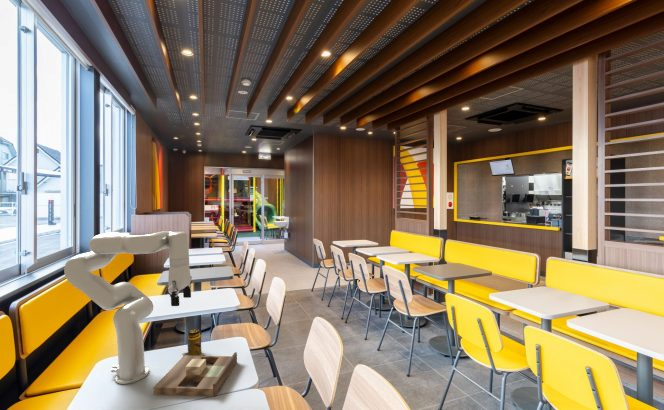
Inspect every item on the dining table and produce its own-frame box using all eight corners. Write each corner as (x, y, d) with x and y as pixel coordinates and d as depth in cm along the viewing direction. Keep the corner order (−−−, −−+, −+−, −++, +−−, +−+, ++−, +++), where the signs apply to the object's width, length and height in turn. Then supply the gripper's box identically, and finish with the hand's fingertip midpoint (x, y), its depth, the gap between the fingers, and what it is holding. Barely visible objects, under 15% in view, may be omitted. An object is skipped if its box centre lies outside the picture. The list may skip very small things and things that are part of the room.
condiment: (203, 355, 159) (202, 331, 158) (184, 361, 154) (183, 336, 153) (200, 349, 165) (199, 326, 164) (182, 354, 160) (180, 330, 160)
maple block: (185, 374, 138) (185, 366, 138) (192, 366, 144) (192, 358, 144) (199, 374, 138) (199, 366, 138) (206, 366, 144) (205, 359, 143)
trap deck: (153, 394, 130) (153, 382, 130) (184, 361, 154) (184, 351, 153) (215, 396, 128) (215, 384, 128) (237, 362, 152) (236, 352, 152)
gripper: (181, 256, 147) (183, 294, 148) (158, 266, 129) (161, 309, 131) (197, 256, 146) (199, 294, 147) (177, 266, 129) (179, 309, 130)
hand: (181, 301), depth 139 cm, fingers open, 9 cm apart
